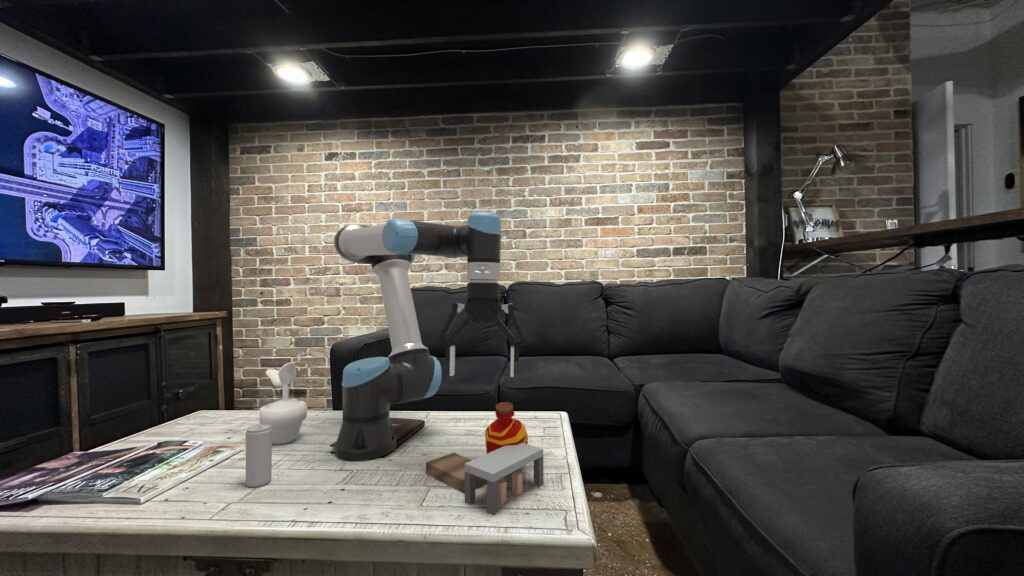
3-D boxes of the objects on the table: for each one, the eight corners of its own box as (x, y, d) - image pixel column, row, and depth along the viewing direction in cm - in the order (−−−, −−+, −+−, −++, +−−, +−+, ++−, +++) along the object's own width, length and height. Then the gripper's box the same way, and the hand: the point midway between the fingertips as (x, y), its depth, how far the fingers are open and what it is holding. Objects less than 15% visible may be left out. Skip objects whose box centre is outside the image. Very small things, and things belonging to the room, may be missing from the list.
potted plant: (315, 438, 118) (315, 350, 118) (273, 451, 108) (273, 355, 108) (290, 430, 124) (290, 347, 125) (249, 442, 115) (249, 351, 115)
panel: (425, 475, 94) (425, 462, 94) (453, 465, 100) (453, 452, 100) (465, 496, 84) (465, 481, 85) (494, 483, 90) (494, 469, 90)
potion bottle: (525, 482, 91) (522, 421, 87) (480, 476, 93) (475, 416, 90) (534, 452, 101) (531, 396, 97) (493, 447, 103) (489, 393, 100)
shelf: (464, 502, 81) (464, 463, 81) (516, 474, 93) (516, 440, 94) (493, 515, 76) (492, 474, 76) (543, 484, 89) (543, 448, 89)
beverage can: (244, 490, 87) (244, 432, 87) (246, 481, 91) (246, 426, 91) (271, 485, 89) (271, 428, 89) (272, 476, 93) (272, 422, 93)
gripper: (425, 280, 91) (423, 377, 91) (539, 282, 91) (537, 379, 91) (431, 281, 98) (430, 370, 98) (537, 282, 98) (535, 372, 98)
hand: (482, 375), depth 95 cm, fingers open, 13 cm apart
